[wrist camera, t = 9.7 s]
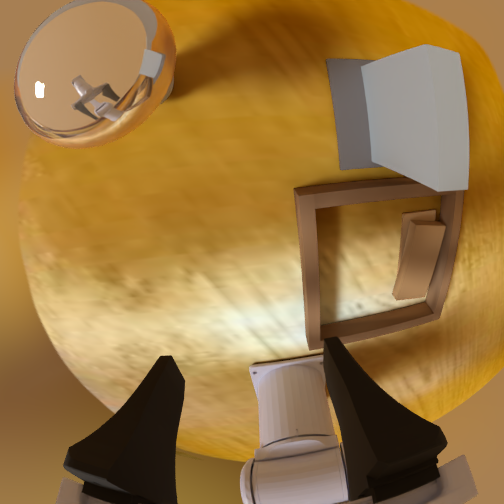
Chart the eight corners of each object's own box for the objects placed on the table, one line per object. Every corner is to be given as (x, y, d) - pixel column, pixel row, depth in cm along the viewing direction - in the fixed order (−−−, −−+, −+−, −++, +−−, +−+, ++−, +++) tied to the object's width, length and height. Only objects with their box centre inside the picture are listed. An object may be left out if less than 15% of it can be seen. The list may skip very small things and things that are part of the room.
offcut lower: (420, 282, 24) (424, 288, 23) (391, 289, 24) (395, 295, 23) (429, 206, 20) (436, 210, 19) (398, 210, 20) (403, 214, 19)
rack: (430, 307, 24) (439, 318, 22) (305, 335, 25) (309, 350, 23) (450, 175, 18) (464, 181, 16) (293, 188, 19) (298, 196, 17)
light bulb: (179, 24, 13) (100, -63, 2) (224, 101, 16) (182, 65, 5) (98, 79, 14) (-30, 70, 4) (138, 152, 17) (19, 205, 7)
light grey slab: (397, 160, 17) (467, 189, 10) (371, 161, 17) (437, 191, 10) (387, 68, 14) (459, 53, 7) (360, 66, 14) (425, 44, 7)
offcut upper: (420, 290, 23) (424, 296, 22) (392, 293, 23) (396, 300, 22) (439, 221, 19) (445, 226, 19) (410, 220, 19) (416, 225, 19)
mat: (420, 164, 18) (422, 165, 17) (340, 169, 18) (341, 169, 18) (411, 65, 14) (413, 65, 14) (325, 59, 14) (326, 58, 14)
